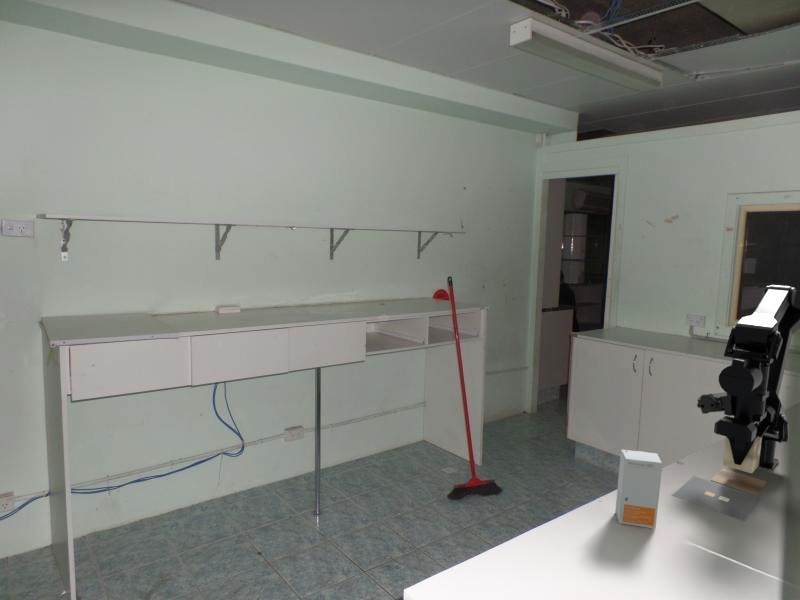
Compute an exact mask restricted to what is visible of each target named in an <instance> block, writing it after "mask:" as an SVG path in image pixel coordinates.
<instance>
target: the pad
mask: <svg viewBox="0 0 800 600" xmlns="http://www.w3.org/2000/svg"><path fill="white" fill-rule="evenodd" d="M710 481H711V482H714V483H717V484H720V485H723V486H727V487H730V488H733V489H736V490H739V491H742V492H745V493H748V494H751V495H754V496H758V495H759V494H760V492H761V491H762V490H763V488H764V487H765V486H766V485H767V483H768V480H763V479H760V478H757V477H754V476H750V475H746V474H743V473H740V472H737V471H733V470H730V469H727V468H725V467H724V468H722V469H720V470H719V471H718V472H717V473H716V474H715V475H714V476H713V477H711V479H710Z"/></svg>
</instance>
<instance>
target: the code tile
mask: <svg viewBox="0 0 800 600" xmlns="http://www.w3.org/2000/svg"><path fill="white" fill-rule="evenodd" d="M671 496H673V497H676V498H678V499H681V500H684V501H686V502H690V503H692V504H695V505H698V506H702V507H704V508H707V509H710V510H712V511H715V512H718V513H719V514H720V513H721V514H724V515H725V516H726V515H727V516H728V517H731V518H734V519H738V520H740V521H743V522H745V521H746V520H747V518H749V516H750V514H751V513H752V512H753V511H754V509H755V508H756V507H757V506H758V504H759V503H760V502H761V500H763V497H760V496H758V495H754V494H751V493H748V492H745V491H742V490H739V489H736V488H733V487H729V486H726V485H723V484H720V483H717V482H714V481H711V480H708V479H704V478H701V477H698V476H696V475H693V476H691V478H690V479H688V481H686V482H685V483H684V484H682V486H681V487H679V488H678V489H677V490H676V491H675V492H673V494H671Z"/></svg>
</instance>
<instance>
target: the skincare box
mask: <svg viewBox="0 0 800 600" xmlns="http://www.w3.org/2000/svg"><path fill="white" fill-rule="evenodd" d="M662 470H663V462H662V461H661V458H660V457H659V454H658V453H656V452H649V451H648V452H647V451H641V450H630V449H629V450H628V449H620V457H619V468H618V479H617V488H616V489H617V491H616V498H615V500H616V501H615V514H616V517H617V521H618V524H622V525H629V526H635V527H636V526H637V527H642V528H648V529H652V528H653V530H655V529H656V526H657V519H658V508H659V501H660V500H659V499H660V489H661V481H662V472H663V471H662Z"/></svg>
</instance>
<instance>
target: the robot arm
mask: <svg viewBox="0 0 800 600" xmlns="http://www.w3.org/2000/svg"><path fill="white" fill-rule="evenodd" d="M799 330H800V291H798V290H797V289H796V287H792V286H789V285H777V284H771V285H767V286H765V290H764V291H763V293H762V297H761V300H760V301H759V303H758V305H757V306H756V308H755V310H754V311H753V313H752V314H751V315H746V316H743V317H741V318H740V319H739V320H738V321H737V323H736V324H735V325H733V326H732V327H731V330H730V333H729V337H728V340H727V343H726V346H725V350H724V353H723V357H726V358H731V359H732V361H731V364H730V365H728V366H726V367H724V368H723V369H722V370H721V371H720V373H719V375H718V384H719V386H720V387H721V389H722V390H723V391H724V392H717V393H715V392H714V393H707V394H706V393H703V394H701V395H700V396H699V397H697V404H696V407H697V408H699V409H700V411H701V414H703V415H704V414H705V415H706V414H709V413H717V412H720V413H721V412H723V414H724V415H725V416H723V417H721V418H720V419H717V421H716V422H715V423H714V429H713V433H714V434H716V435H718V436H719V435H720V436H723V437H725V438H726V437H727V438H728V439H729V442H730V446H731V451H732V455H733V460H734V463H735V464H737V465H741V464H742V462H743V461H744V459H745V457H746V456H747V454H748V453H749V451H750V449H751V448H752V446H753V444H754V443H755V441H756V440H757V438H758V437H762V441H761V450H760V458H759V466H758V467H760V468H763V469H767V470H770V469H771V470H770V471H773V469H775V467H776V465H778V464H779V462H780V459H778V458H775V456H776V448H777V442H778V443H779V444H782V443H783V442H785V443H788V441H789V437H790V431H789V429H790V428H789V421H787V415H786V414H785V408H784V406H783V403H782V401H781V399H780V397H779V395H780V391H781V388H782V382H783V378H784V373H785V369H786V363H787V360H788V355H789V351H790V348H791V347H790V346H791V342H792V339H793V338H792V337H793V335H794V334H795V333H797V331H799Z"/></svg>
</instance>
